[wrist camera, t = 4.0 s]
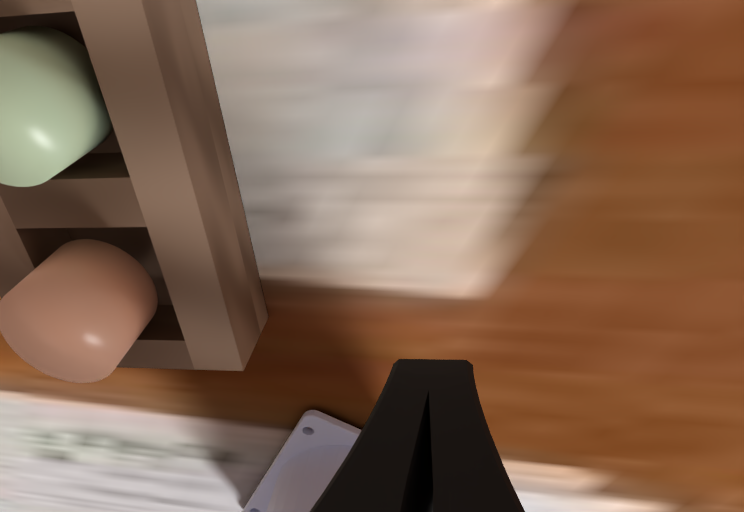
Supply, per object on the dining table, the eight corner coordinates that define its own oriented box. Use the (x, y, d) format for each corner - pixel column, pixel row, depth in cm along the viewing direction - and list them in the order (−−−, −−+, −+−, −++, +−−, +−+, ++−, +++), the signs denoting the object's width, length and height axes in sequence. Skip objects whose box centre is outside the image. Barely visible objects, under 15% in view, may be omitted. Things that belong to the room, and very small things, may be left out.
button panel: (268, 317, 22) (243, 371, 20) (81, 314, 24) (36, 365, 21) (107, -383, 12) (15, -452, 10) (-200, -321, 14) (-349, -369, 11)
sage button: (132, 149, 17) (86, 185, 15) (24, 153, 18) (-35, 188, 16) (90, 20, 15) (31, 41, 13) (-28, 29, 16) (-104, 51, 14)
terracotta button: (170, 331, 19) (134, 384, 17) (73, 329, 20) (27, 380, 18) (138, 238, 17) (93, 286, 15) (32, 239, 18) (-25, 285, 16)
